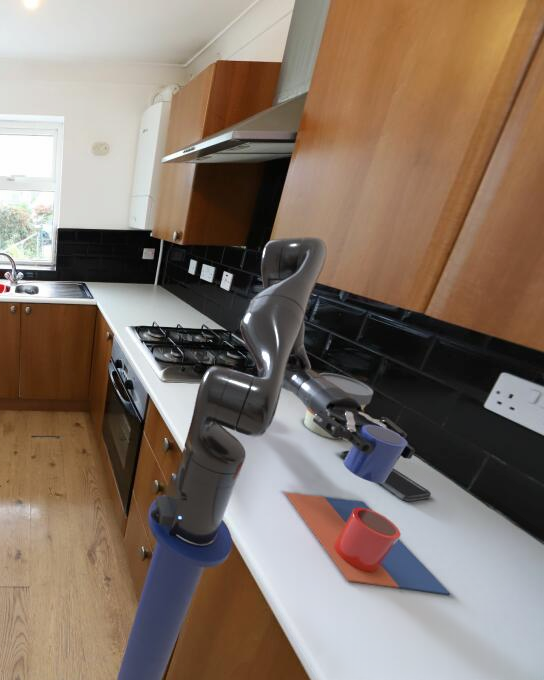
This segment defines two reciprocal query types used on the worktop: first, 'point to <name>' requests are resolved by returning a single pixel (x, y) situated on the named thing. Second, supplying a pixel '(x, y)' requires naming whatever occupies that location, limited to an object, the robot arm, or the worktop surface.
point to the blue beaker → (376, 454)
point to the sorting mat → (393, 572)
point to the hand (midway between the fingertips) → (390, 452)
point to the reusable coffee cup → (350, 387)
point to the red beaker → (366, 539)
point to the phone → (401, 485)
